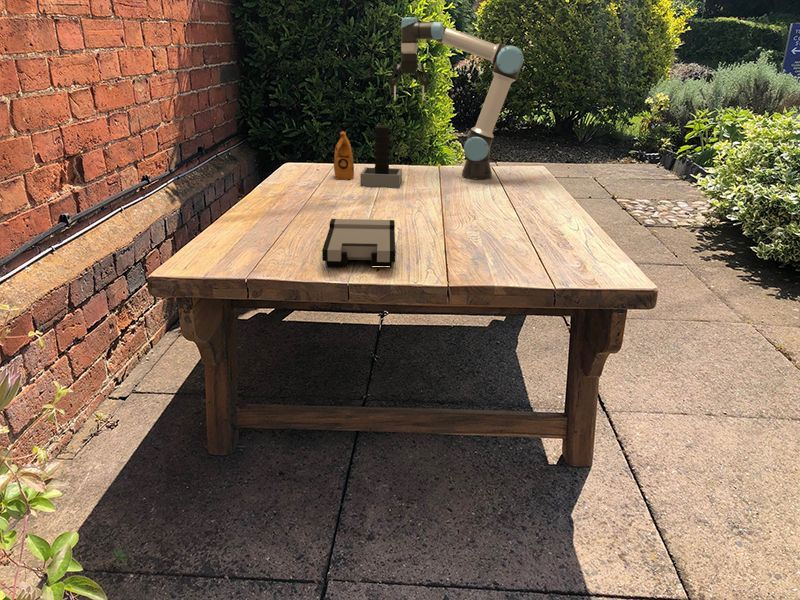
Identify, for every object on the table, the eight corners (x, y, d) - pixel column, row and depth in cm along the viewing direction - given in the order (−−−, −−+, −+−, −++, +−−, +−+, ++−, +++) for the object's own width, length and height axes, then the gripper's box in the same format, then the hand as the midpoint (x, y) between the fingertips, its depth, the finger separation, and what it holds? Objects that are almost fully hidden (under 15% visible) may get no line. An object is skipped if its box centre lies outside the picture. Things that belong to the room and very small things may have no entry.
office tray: (322, 273, 195) (322, 245, 192) (331, 242, 225) (331, 218, 222) (394, 274, 195) (395, 246, 192) (394, 244, 225) (394, 220, 222)
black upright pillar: (387, 179, 328) (367, 180, 324) (387, 123, 318) (368, 123, 314) (395, 182, 319) (376, 184, 315) (396, 125, 310) (376, 126, 306)
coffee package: (332, 180, 328) (332, 133, 320) (334, 175, 340) (333, 130, 332) (353, 180, 328) (353, 134, 321) (354, 175, 340) (354, 131, 332)
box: (401, 181, 329) (402, 168, 327) (399, 188, 313) (399, 175, 311) (365, 179, 331) (365, 167, 328) (360, 186, 314) (360, 173, 312)
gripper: (435, 52, 321) (434, 99, 328) (383, 52, 321) (383, 99, 329) (436, 52, 314) (435, 100, 321) (382, 53, 314) (382, 100, 322)
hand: (409, 100), depth 325 cm, fingers open, 13 cm apart
